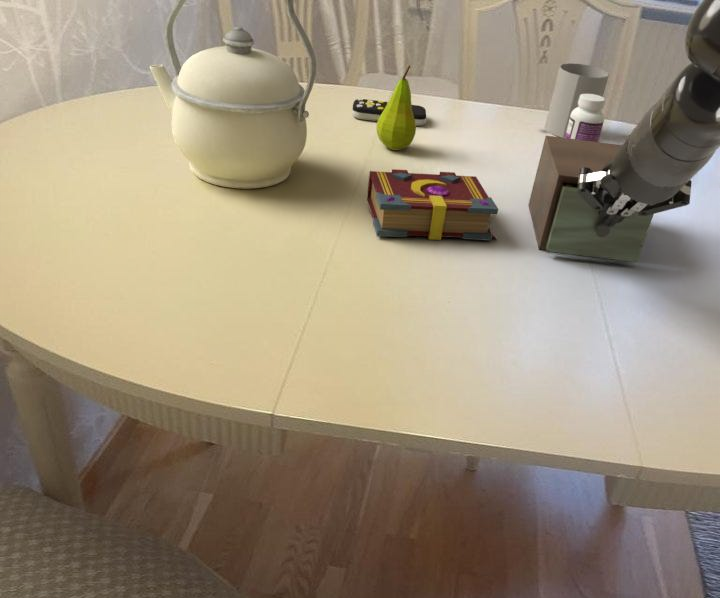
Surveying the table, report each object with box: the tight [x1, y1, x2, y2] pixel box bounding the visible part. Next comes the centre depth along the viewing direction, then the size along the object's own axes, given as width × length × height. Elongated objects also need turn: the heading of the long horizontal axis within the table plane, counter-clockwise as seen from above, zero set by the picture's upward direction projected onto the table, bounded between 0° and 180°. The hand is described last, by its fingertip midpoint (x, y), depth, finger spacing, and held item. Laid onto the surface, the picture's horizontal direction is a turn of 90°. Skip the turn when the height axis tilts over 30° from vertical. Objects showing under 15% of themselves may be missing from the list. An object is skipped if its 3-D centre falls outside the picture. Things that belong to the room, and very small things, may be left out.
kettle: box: [149, 0, 318, 190], centre depth 99 cm, size 25×18×25 cm
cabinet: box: [528, 135, 623, 252], centre depth 99 cm, size 15×13×10 cm
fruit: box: [376, 65, 417, 151], centre depth 116 cm, size 6×6×12 cm
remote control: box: [351, 97, 427, 127], centre depth 131 cm, size 6×13×2 cm, turn 88°
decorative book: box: [366, 168, 499, 241], centre depth 99 cm, size 11×16×5 cm
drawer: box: [546, 182, 655, 263], centre depth 97 cm, size 15×11×8 cm
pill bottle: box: [565, 94, 606, 142], centre depth 121 cm, size 5×5×10 cm
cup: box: [544, 62, 610, 138], centre depth 132 cm, size 8×8×10 cm
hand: (606, 218), depth 91 cm, fingers closed
